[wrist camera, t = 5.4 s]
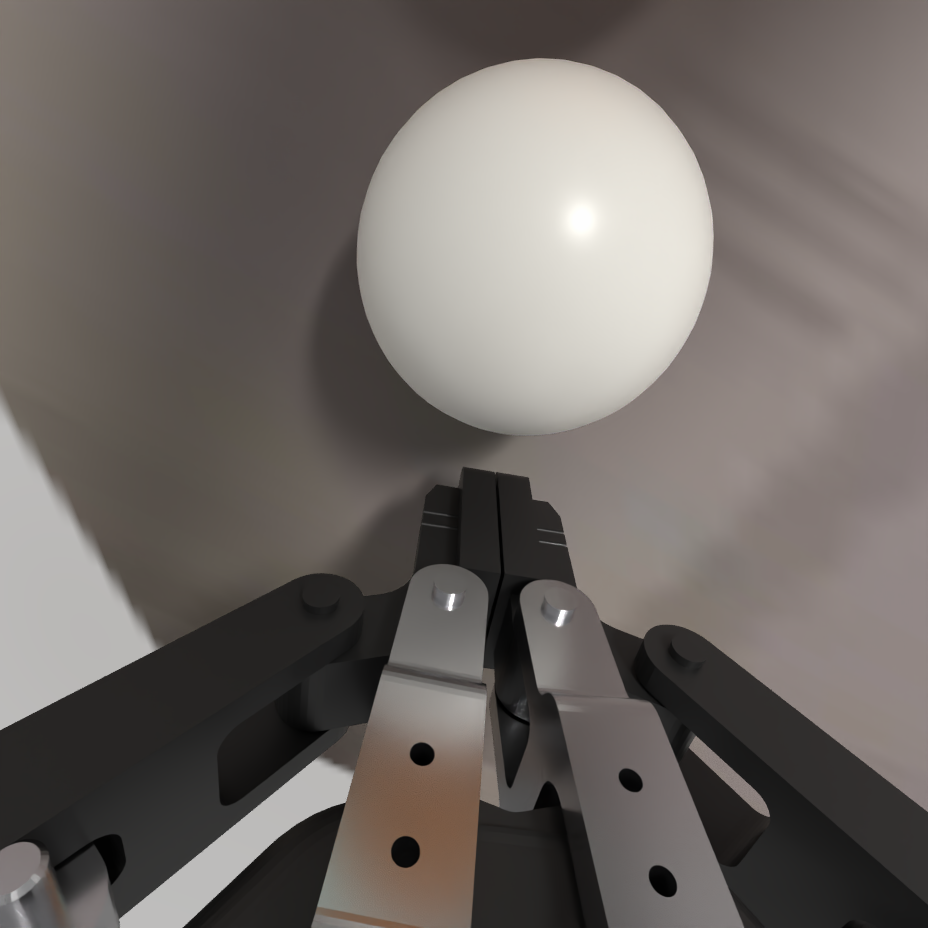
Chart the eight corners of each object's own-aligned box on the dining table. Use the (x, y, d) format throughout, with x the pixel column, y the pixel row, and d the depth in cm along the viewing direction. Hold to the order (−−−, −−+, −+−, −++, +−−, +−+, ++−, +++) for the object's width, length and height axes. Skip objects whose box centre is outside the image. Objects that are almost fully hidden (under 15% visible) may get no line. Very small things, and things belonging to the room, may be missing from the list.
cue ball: (331, 479, 9) (393, 299, 13) (659, 525, 9) (629, 332, 13) (280, 103, 5) (392, -4, 9) (864, 182, 5) (735, 42, 9)
